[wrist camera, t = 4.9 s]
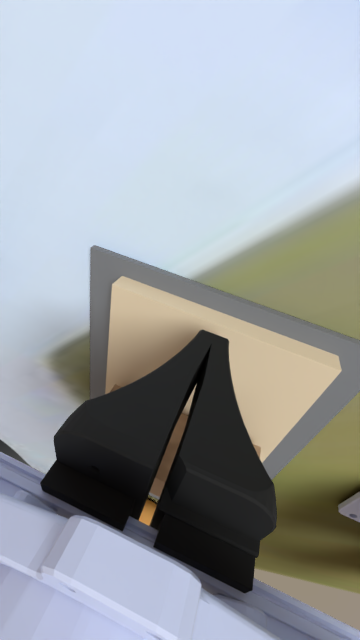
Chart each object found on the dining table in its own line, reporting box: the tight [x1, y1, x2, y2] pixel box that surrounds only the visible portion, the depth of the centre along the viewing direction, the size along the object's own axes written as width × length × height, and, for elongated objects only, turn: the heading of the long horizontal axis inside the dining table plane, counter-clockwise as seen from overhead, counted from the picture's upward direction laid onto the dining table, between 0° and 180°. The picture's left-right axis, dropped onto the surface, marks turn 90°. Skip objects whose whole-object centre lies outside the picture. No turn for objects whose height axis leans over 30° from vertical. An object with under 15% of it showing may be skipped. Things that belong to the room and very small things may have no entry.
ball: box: [139, 500, 157, 526], centre depth 30 cm, size 5×5×5 cm
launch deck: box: [90, 246, 360, 500], centre depth 23 cm, size 16×34×2 cm, turn 168°
